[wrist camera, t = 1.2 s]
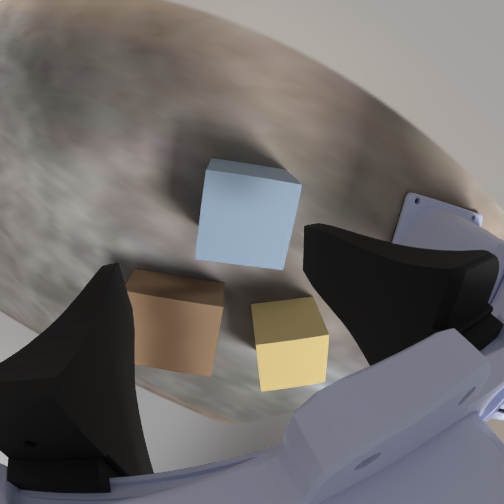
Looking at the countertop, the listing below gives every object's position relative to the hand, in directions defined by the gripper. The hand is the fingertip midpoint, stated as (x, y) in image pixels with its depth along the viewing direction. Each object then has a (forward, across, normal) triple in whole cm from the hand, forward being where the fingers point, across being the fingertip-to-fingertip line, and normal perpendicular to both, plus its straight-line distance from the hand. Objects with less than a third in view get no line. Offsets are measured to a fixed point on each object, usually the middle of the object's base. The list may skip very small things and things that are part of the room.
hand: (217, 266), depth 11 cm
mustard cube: (+8, -6, +12) cm, 16 cm away
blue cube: (+10, -4, +1) cm, 10 cm away
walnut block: (+11, +2, +10) cm, 15 cm away
